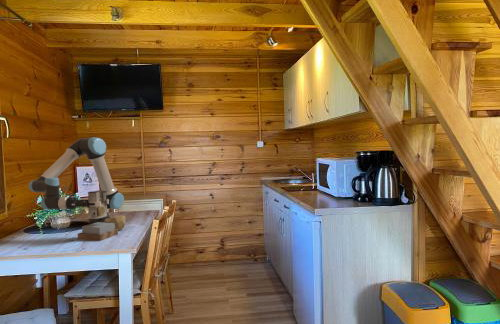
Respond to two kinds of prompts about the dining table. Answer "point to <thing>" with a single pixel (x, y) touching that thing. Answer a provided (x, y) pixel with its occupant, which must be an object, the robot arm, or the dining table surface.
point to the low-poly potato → (117, 222)
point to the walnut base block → (97, 235)
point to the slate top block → (98, 228)
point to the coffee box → (97, 211)
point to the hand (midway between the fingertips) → (104, 202)
